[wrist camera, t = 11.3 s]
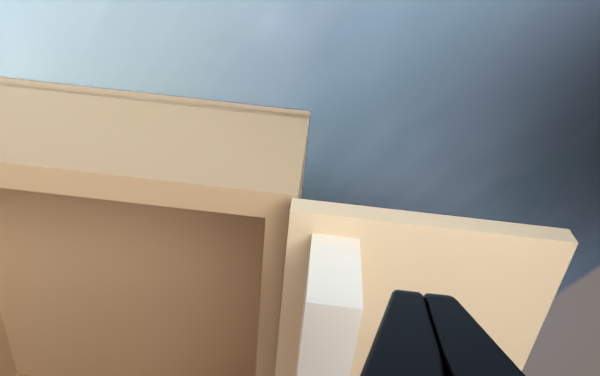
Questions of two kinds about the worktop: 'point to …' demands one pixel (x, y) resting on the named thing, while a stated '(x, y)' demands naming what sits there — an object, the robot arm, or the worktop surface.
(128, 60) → the worktop surface
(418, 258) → the inner lid
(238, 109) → the carton
